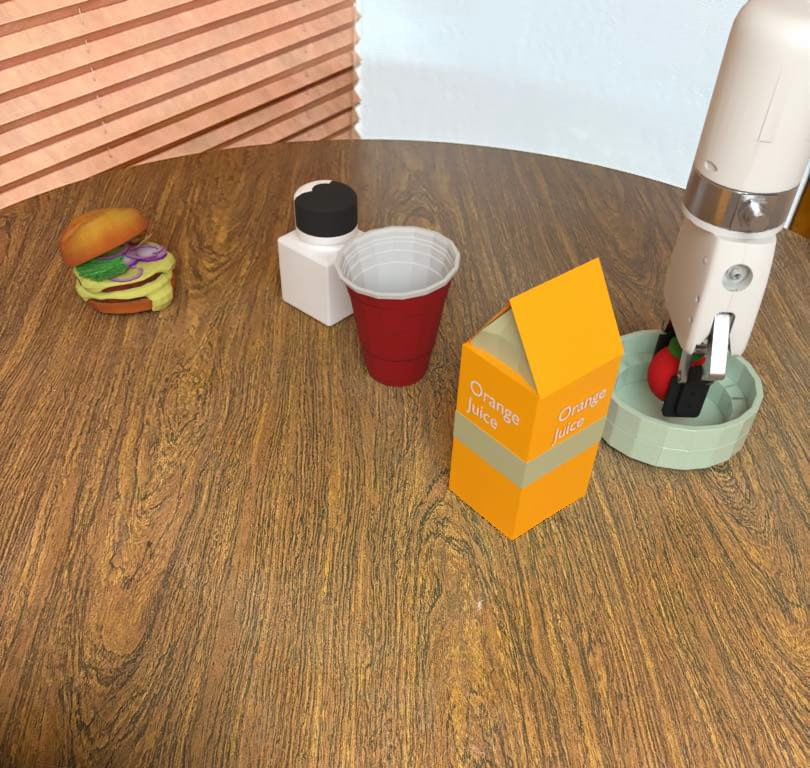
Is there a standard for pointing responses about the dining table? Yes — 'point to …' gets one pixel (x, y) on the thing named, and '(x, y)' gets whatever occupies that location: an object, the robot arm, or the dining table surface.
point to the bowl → (677, 436)
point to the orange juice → (535, 401)
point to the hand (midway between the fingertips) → (673, 392)
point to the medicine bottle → (318, 250)
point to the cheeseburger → (118, 262)
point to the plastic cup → (397, 297)
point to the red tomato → (667, 367)
